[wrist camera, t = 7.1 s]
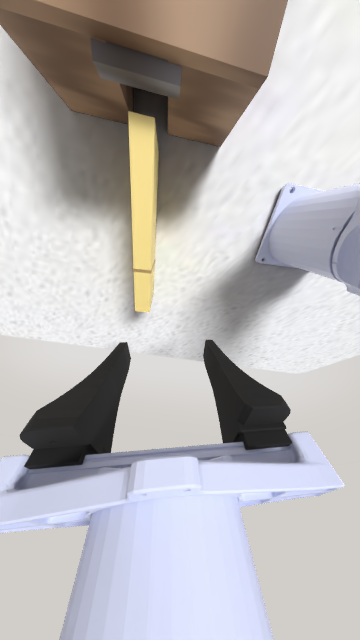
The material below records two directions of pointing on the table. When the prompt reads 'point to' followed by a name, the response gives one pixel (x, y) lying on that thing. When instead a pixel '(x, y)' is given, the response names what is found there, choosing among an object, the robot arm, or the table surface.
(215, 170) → the table surface
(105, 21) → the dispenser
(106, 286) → the table surface
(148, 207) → the ticket
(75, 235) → the table surface
